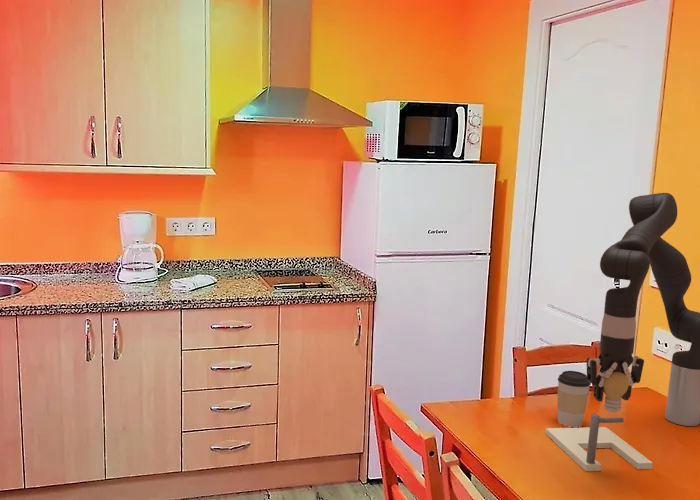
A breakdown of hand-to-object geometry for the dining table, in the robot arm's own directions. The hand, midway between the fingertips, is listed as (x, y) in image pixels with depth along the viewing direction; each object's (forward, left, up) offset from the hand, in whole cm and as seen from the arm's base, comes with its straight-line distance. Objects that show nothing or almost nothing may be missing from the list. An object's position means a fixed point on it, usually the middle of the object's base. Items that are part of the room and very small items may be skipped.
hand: (611, 399), depth 164 cm
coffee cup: (-7, -30, -19) cm, 36 cm away
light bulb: (0, 0, -3) cm, 3 cm away
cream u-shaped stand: (-5, -12, -19) cm, 22 cm away
